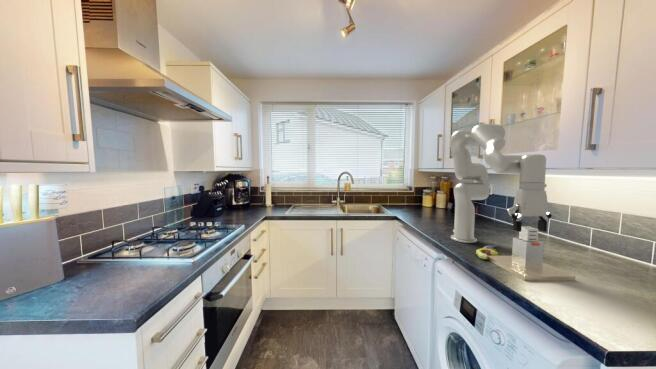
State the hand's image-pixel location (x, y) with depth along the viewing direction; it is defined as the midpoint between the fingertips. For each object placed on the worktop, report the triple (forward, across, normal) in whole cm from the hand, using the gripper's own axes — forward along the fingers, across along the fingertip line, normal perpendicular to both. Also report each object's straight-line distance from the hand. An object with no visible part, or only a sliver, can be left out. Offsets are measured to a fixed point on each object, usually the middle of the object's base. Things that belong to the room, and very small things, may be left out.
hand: (529, 230), depth 93 cm
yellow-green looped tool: (+15, +3, -18) cm, 24 cm away
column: (+13, 0, 0) cm, 14 cm away
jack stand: (+15, 0, -1) cm, 15 cm away
